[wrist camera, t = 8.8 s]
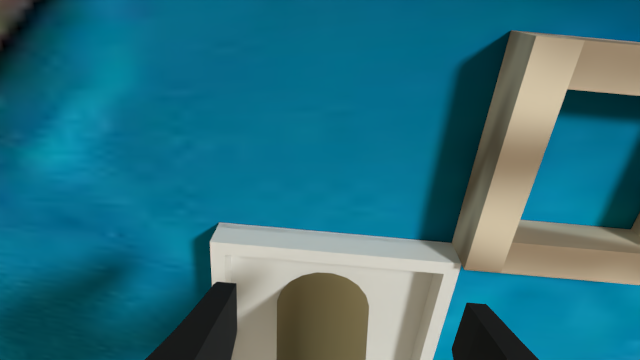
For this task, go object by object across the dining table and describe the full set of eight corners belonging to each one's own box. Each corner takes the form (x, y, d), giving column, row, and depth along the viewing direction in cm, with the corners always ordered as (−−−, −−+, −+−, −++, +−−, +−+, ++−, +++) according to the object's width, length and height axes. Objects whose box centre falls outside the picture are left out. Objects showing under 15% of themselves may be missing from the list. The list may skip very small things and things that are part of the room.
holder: (649, 260, 23) (682, 288, 21) (451, 242, 23) (464, 269, 21) (765, 54, 18) (826, 62, 16) (511, 30, 18) (536, 35, 16)
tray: (409, 394, 29) (413, 421, 28) (224, 379, 29) (217, 404, 28) (451, 242, 23) (461, 263, 22) (219, 222, 23) (209, 241, 21)
